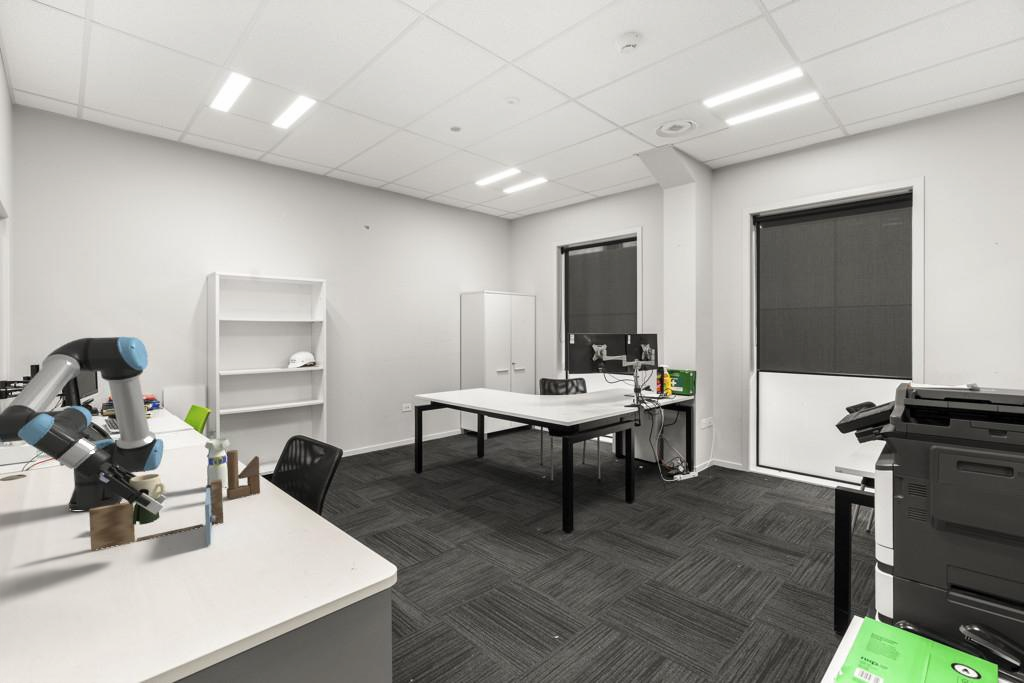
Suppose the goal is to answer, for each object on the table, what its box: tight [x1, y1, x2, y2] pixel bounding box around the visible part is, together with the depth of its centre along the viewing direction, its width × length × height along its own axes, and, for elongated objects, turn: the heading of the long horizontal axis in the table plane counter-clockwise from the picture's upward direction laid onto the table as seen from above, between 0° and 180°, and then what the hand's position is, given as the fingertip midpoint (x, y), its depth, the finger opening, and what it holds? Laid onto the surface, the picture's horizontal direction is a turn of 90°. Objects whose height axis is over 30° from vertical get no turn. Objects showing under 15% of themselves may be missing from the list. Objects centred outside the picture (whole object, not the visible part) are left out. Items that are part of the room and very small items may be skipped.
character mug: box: [129, 473, 166, 526], centre depth 137 cm, size 11×7×13 cm, turn 90°
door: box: [204, 488, 215, 546], centre depth 150 cm, size 18×2×12 cm, turn 31°
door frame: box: [88, 479, 224, 551], centre depth 151 cm, size 33×2×14 cm, turn 126°
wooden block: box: [226, 449, 261, 500], centre depth 186 cm, size 4×11×18 cm, turn 134°
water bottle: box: [204, 428, 230, 489], centre depth 196 cm, size 8×9×25 cm
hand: (161, 505), depth 139 cm, fingers closed on character mug, 7 cm apart
